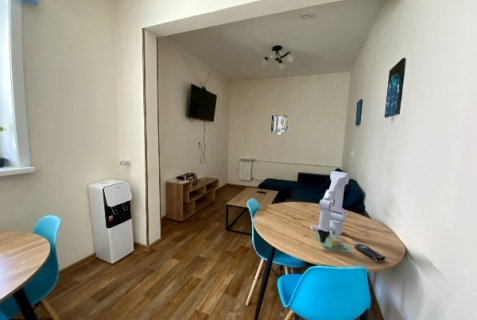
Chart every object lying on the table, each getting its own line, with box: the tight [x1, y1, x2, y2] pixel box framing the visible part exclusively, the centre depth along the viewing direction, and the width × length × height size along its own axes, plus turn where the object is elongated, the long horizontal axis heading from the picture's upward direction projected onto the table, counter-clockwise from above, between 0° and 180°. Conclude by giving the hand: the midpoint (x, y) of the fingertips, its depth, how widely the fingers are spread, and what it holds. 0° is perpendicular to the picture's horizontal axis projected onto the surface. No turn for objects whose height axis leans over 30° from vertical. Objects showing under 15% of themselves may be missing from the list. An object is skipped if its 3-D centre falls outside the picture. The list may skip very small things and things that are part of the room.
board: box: [313, 231, 354, 253], centre depth 122 cm, size 20×16×5 cm
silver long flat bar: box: [330, 232, 342, 245], centre depth 122 cm, size 14×2×1 cm, turn 178°
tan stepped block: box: [330, 238, 344, 248], centre depth 117 cm, size 3×6×4 cm, turn 88°
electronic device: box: [353, 243, 386, 262], centre depth 113 cm, size 9×6×15 cm
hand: (322, 242), depth 117 cm, fingers closed
